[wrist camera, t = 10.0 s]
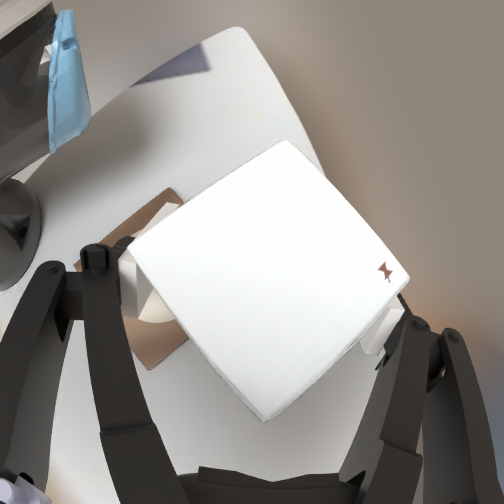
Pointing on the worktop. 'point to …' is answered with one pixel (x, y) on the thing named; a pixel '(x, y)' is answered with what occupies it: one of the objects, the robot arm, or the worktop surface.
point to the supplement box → (270, 276)
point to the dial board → (155, 311)
